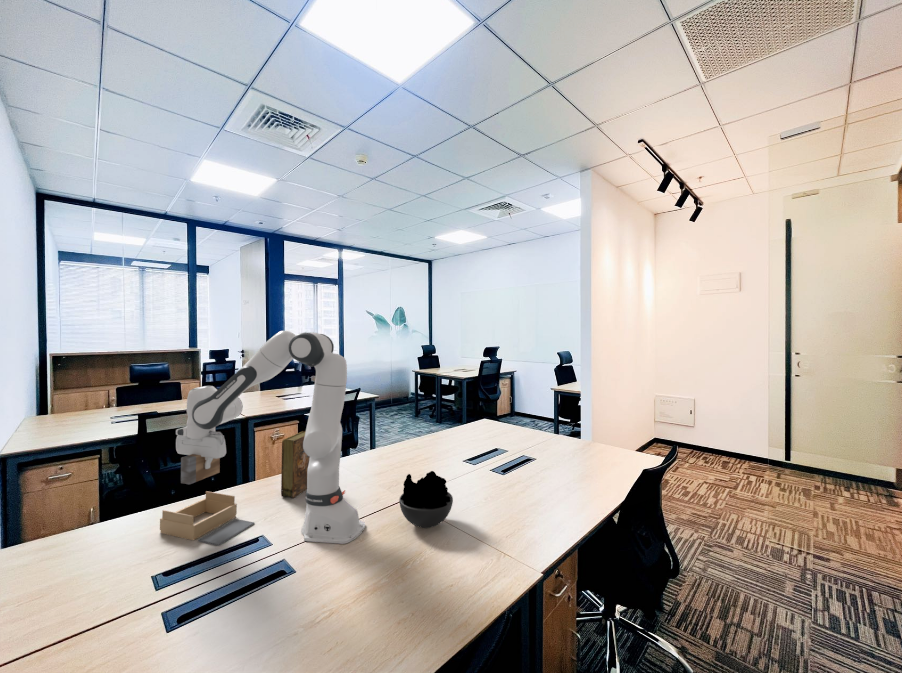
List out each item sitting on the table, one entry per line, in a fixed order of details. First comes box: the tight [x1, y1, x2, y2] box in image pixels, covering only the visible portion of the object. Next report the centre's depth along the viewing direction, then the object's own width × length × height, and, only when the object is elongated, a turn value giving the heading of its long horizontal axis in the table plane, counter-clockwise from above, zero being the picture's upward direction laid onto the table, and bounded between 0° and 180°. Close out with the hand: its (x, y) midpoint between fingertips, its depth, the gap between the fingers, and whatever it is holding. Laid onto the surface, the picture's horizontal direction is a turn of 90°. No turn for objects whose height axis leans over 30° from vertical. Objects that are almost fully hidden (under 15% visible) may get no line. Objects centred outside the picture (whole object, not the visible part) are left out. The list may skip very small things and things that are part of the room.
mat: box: [197, 518, 255, 547], centre depth 131 cm, size 9×15×1 cm, turn 164°
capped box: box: [180, 454, 221, 485], centre depth 136 cm, size 4×12×9 cm, turn 163°
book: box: [280, 430, 310, 499], centre depth 167 cm, size 16×6×25 cm, turn 168°
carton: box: [159, 490, 238, 541], centre depth 136 cm, size 16×17×8 cm
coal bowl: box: [398, 470, 454, 529], centre depth 139 cm, size 20×20×19 cm
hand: (201, 467), depth 136 cm, fingers closed on capped box, 4 cm apart
